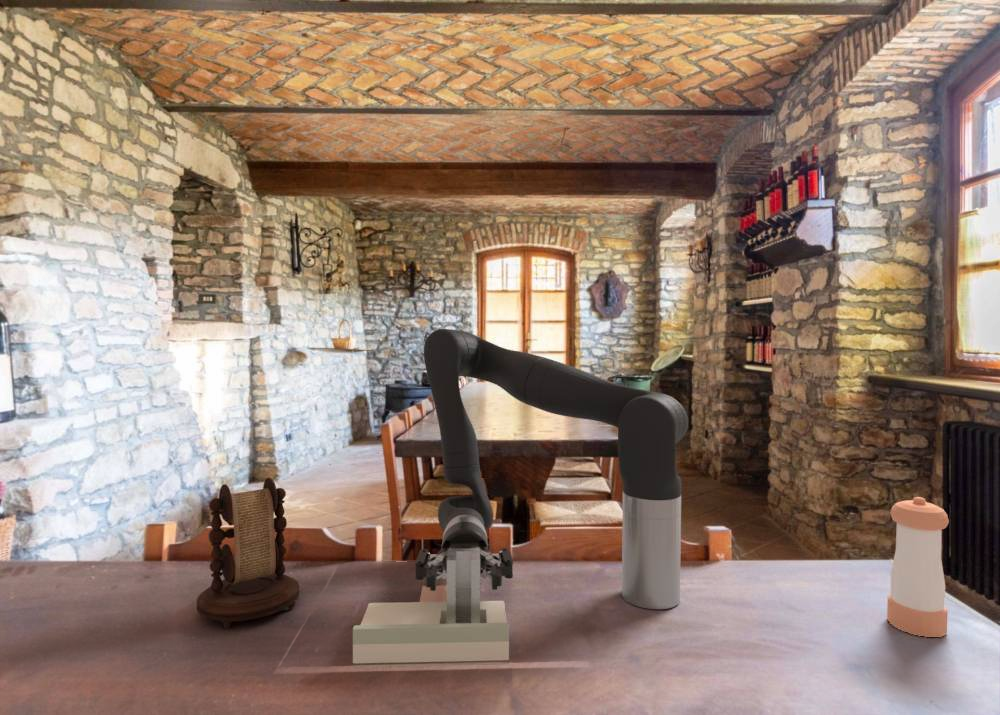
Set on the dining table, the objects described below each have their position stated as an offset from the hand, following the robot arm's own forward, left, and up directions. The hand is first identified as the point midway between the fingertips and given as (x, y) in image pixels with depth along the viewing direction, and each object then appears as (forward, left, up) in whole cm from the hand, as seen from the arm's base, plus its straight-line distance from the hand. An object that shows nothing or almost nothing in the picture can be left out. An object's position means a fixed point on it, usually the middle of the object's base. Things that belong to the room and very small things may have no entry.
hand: (464, 583), depth 82 cm
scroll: (+12, -33, -9) cm, 37 cm away
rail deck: (+2, -3, -8) cm, 9 cm away
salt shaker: (-45, +50, -9) cm, 67 cm away
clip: (0, 0, -8) cm, 8 cm away
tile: (-9, -11, -8) cm, 17 cm away
